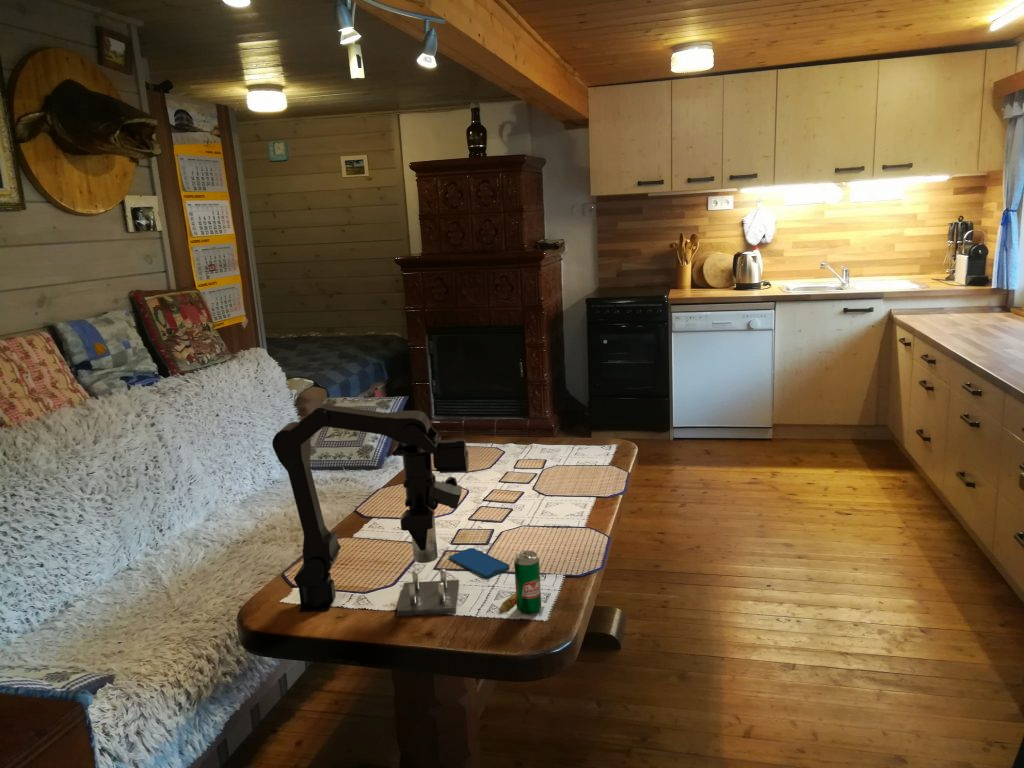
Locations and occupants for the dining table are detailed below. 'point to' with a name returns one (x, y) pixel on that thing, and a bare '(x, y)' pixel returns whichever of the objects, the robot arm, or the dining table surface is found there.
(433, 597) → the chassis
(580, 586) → the dining table surface
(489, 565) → the smartphone
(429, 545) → the canister
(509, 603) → the chocolate bar
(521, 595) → the soda can
